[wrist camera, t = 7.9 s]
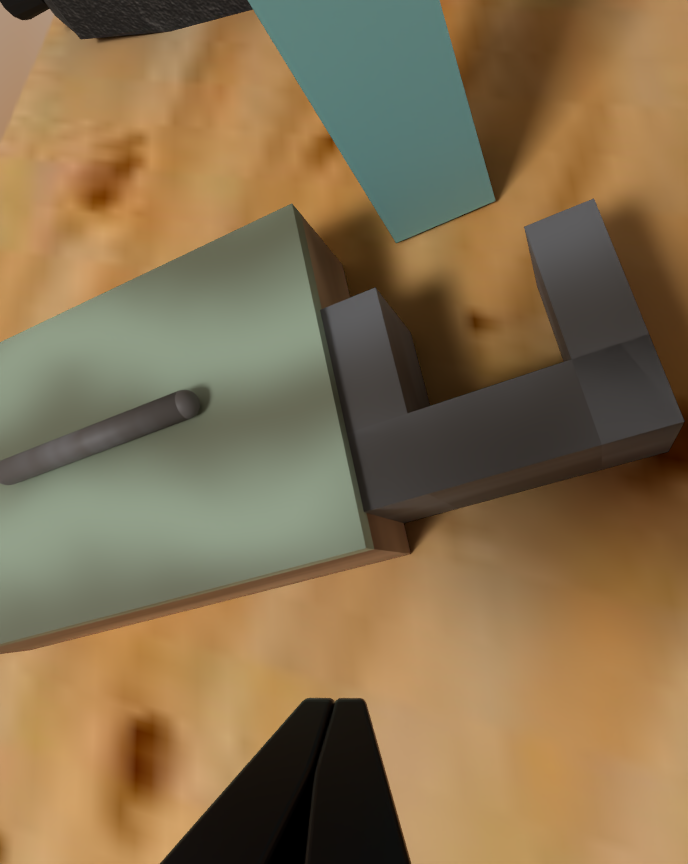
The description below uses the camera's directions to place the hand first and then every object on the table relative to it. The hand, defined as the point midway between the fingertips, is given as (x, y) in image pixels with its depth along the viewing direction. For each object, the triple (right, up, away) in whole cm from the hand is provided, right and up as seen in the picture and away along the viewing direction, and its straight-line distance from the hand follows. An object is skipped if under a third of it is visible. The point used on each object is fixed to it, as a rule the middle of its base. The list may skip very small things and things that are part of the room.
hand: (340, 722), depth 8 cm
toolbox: (-3, +4, +16) cm, 17 cm away
